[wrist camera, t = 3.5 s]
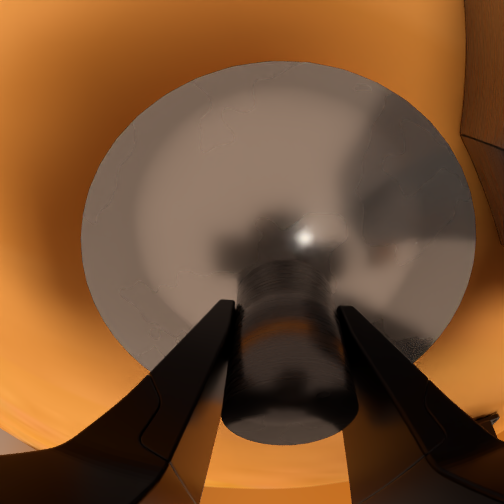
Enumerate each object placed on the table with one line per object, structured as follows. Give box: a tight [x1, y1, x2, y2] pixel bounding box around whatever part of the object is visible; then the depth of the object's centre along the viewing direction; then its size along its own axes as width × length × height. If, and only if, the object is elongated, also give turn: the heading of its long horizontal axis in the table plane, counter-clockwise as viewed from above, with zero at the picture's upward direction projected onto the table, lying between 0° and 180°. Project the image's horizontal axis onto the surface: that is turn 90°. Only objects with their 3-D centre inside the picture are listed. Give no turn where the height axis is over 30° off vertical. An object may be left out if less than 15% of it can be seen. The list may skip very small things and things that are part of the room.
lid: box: [81, 61, 476, 445], centre depth 8 cm, size 13×13×5 cm
